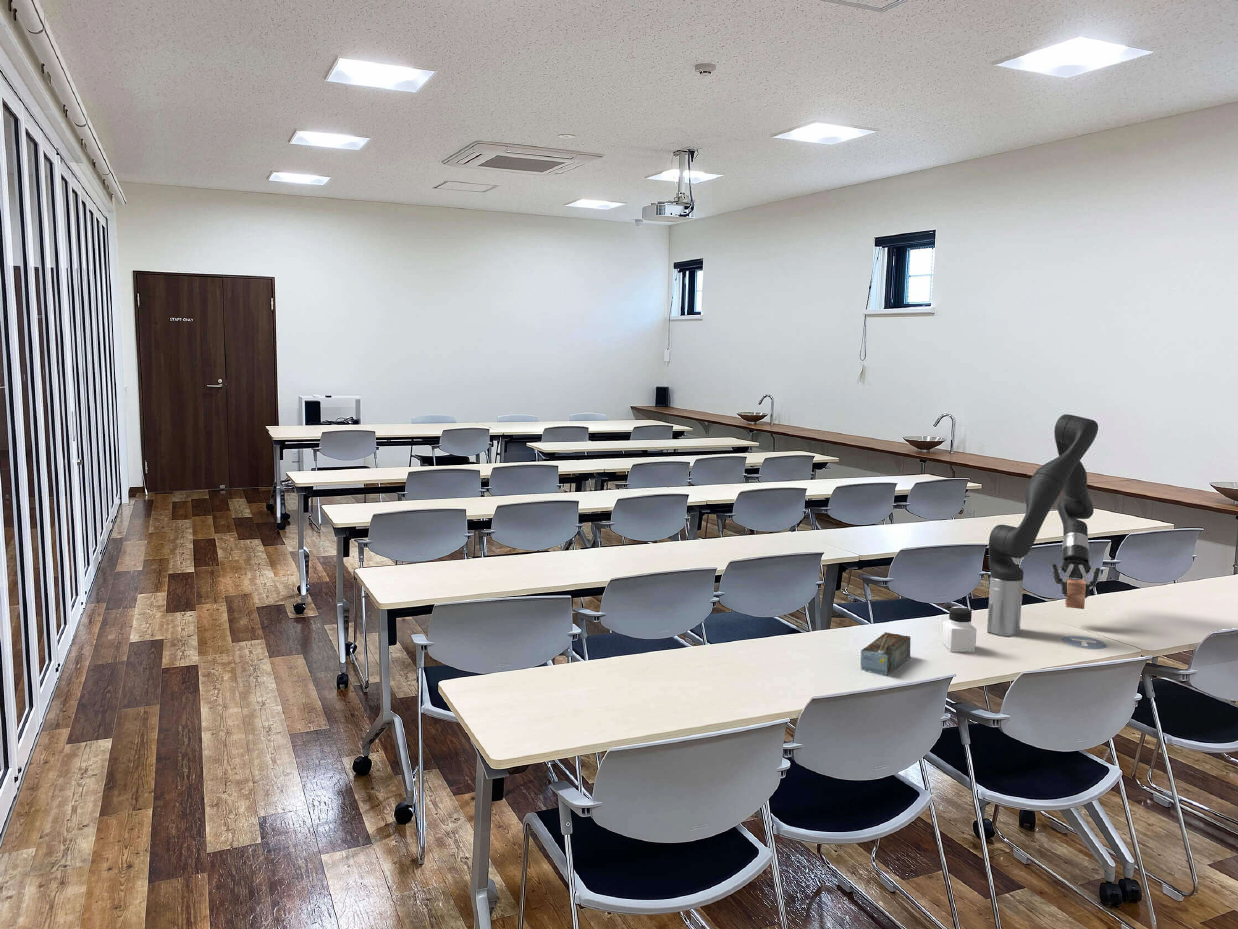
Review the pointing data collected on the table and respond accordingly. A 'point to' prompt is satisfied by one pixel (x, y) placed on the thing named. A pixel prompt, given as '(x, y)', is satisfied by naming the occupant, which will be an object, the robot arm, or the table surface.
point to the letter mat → (1084, 642)
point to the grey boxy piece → (885, 653)
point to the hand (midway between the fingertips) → (1075, 595)
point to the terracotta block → (1075, 593)
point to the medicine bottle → (959, 631)
